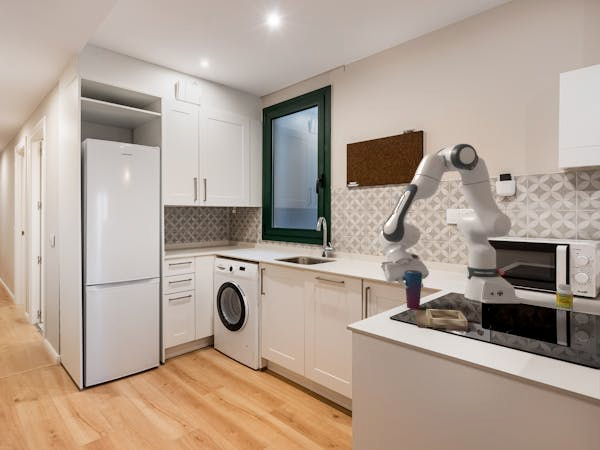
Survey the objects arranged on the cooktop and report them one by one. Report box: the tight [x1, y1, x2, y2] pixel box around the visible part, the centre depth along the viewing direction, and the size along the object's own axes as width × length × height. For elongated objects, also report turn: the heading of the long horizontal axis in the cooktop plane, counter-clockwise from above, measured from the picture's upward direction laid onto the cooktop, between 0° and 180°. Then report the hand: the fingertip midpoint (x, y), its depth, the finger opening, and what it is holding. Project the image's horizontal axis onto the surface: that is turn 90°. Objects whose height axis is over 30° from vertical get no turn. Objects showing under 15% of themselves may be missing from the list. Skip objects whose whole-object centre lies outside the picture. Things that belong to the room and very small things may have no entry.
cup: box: [405, 270, 423, 310], centre depth 145 cm, size 7×7×15 cm
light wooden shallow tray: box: [413, 308, 469, 332], centre depth 128 cm, size 16×18×3 cm
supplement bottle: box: [555, 283, 574, 311], centre depth 141 cm, size 5×5×10 cm
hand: (414, 287), depth 145 cm, fingers closed on cup, 6 cm apart
